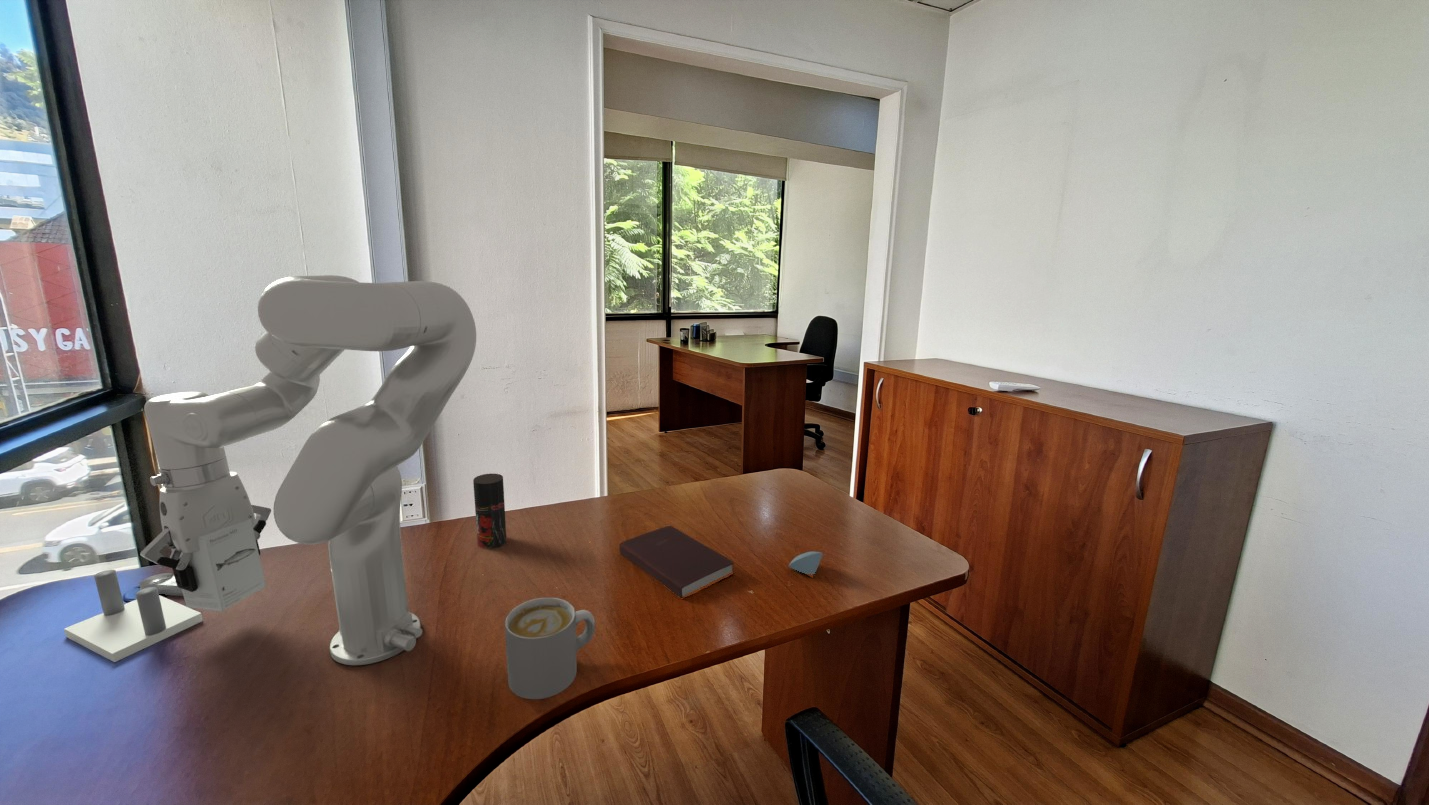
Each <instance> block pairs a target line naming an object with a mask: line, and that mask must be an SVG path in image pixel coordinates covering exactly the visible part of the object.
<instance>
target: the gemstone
mask: <svg viewBox="0 0 1429 805" xmlns="http://www.w3.org/2000/svg"><path fill="white" fill-rule="evenodd" d="M823 554H824V553H823V552H821V551H814V550H813V551H807V552H805V553H804V552H803V553H802V554H799V555H797V556H795V557H794V558H793V559H792V560H791V561H790V563H789V564H788V567H789V568H790V569H792V570H794V571H796V570H797V571H796V572H798V571H799V572H798V573H800V572H802V573H805V574H811V575H812V574H815V575H816V573H815V572H817V569H818V568H819V565H820V563H821V560H822V557H823ZM802 573H801V574H802Z"/></svg>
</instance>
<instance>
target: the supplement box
mask: <svg viewBox="0 0 1429 805" xmlns="http://www.w3.org/2000/svg"><path fill="white" fill-rule="evenodd" d="M198 543H199V547H200V550H199V551H197V552H194V553H193V554H192V556H191V558H190V560H189V562H188V566H190V567H192V568H193V571H194V575H195V579H196V582H197V586H198V589H197V590H196V591H194V592H190V591H187V590H184V589H182V592H183V596H182V597H183V599H184V602H185V606H186V607H188V608H191V609H196V610H197V609H198V610H204V611H214V612H225V611H226V610H228V609H229V608H230V607H232V606H234V605H236V604H238V603H239V602H240V601H243V600H244V599H247V598H248V597H250V596H251V595H253V594H255V593H257V592H259V591H261V590H264V589H265V588H266V587H267V585H266V584H267V583H266V580H265V575H264V571H263V566H262V562H261V558H260V555H259V553H258V548H257V544H256V539H255V535H254V530H253V526H252V521H251V519H250V518H249V519H248V520H245V521H242V522H239V523H237V524H234V525H231V526H228V527H225V528H222V529H219V530H217V531H214V532H211V533H208V534H206V535H203V536H200V537H198ZM173 545H174V544H173ZM170 550H171V552H172V551H173V549H170Z"/></svg>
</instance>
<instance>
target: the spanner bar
mask: <svg viewBox="0 0 1429 805" xmlns="http://www.w3.org/2000/svg"><path fill="white" fill-rule="evenodd" d="M149 587H157V589H158V593H161V594H165V595H164V596H179V597H184V596H183V592H182V589H181V588H179V587H178V586H177V584H176V580H175V577H174V573H171V572H163V573H158V574H157V573H156V574H153V575H151V576H148V577H146V578H144V579H143V580H141V581H140V582H139V588H140V589H139V590H142V589H145V588H149Z"/></svg>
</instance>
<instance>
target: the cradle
mask: <svg viewBox="0 0 1429 805" xmlns="http://www.w3.org/2000/svg"><path fill="white" fill-rule="evenodd" d="M93 578H94V580H95V581H94V582H95V585H96V589H97V593H98V598H99V602H100V605H101V609H102V613H99V614H97V615H94V616H92V617H89V618H87V619H85V620H82V621H79V622H77V623H74V624H72V625H70V626H67V627H65V628H63V631H64V633H65V636H66V638H67V639H69V640H71V641H73V642H75V643H77V644H79V645H81V646H82V647H84V648H87V649H88V650H90V651H92V652H94V653H96V654H98V655H99V656H102V657H103V658H105V659H107V660H109V661H111V662H113V663H116V662H118V661H120V660H123V659H125V658H127V657H130V656H131V655H133V654H135V653H138V652H139V651H141V650H143V649H146V648H148V647H150V646H153V645H155V644H157V643H159V642H161V641H163V640H166V639H167V638H169V637H172V636H174V635H176V634H178V633H180V632H182V631H184V630H187V629H189V628H191V627H193V626H195V625H197V624H199V623H202V622H204V620H203V615H202V612H200V611H197V610H194V608H189V607H186V605H184V604H181V603H179V602H176V601H175V600H172V599H169V598H167V597H165V596H163V595H159V593H158V589H157V587H149V588H145V589H142V590H141V589H139V590H138V591H137V592H136V593H135V597H136V599H134V600H132V601H129V602H126V603H125V602H124V600H123V596H122V591H121V587H120V584H119V579H118V575H117V571H116V569H107V570H103V571H99V572H97V573H96V574H94V575H93ZM124 603H125V604H124Z"/></svg>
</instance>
